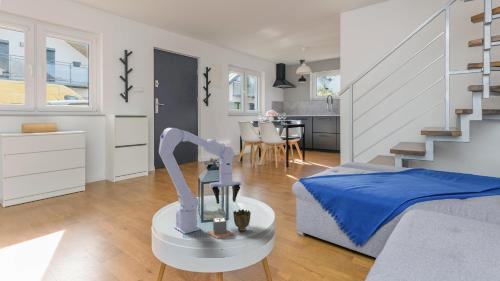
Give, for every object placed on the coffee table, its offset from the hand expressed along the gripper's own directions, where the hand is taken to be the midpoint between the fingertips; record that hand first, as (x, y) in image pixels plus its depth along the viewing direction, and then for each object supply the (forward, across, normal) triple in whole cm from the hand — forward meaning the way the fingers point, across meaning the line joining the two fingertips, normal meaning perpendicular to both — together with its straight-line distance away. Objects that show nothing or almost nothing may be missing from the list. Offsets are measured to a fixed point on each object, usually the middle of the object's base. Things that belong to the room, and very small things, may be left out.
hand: (226, 202), depth 128 cm
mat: (+9, +6, +11) cm, 16 cm away
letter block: (+9, +6, +11) cm, 15 cm away
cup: (+10, -4, +11) cm, 15 cm away
